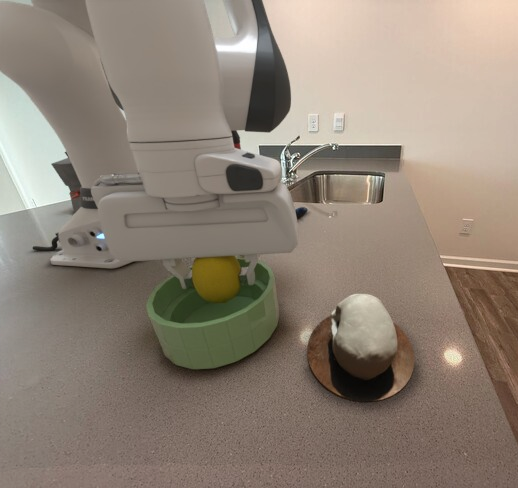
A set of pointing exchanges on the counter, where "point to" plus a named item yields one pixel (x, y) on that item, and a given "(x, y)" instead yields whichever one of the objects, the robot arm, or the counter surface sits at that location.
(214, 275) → the lemon
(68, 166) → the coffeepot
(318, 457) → the counter surface
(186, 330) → the green pet bowl
